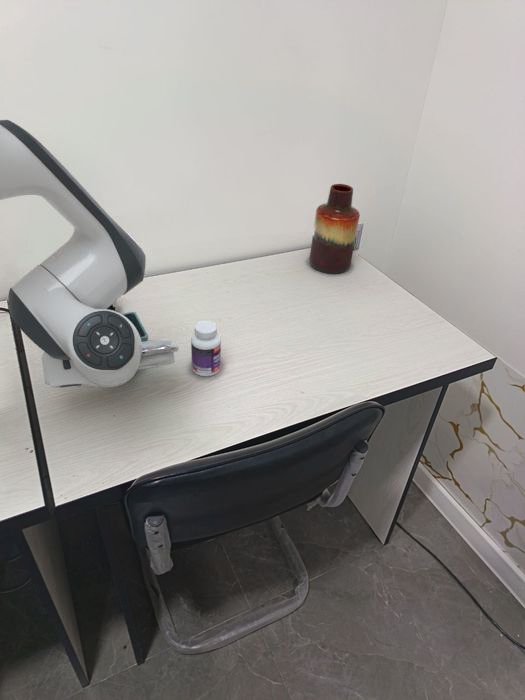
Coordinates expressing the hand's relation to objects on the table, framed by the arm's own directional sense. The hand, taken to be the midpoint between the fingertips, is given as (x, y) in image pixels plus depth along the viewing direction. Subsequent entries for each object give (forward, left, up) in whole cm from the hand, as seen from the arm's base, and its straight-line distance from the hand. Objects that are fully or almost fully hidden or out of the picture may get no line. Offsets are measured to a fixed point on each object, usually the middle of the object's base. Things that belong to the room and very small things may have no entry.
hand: (112, 365), depth 86 cm
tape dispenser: (0, +25, -5) cm, 26 cm away
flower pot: (+2, +5, -5) cm, 7 cm away
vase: (+58, +34, -5) cm, 67 cm away
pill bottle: (+17, +1, -5) cm, 18 cm away
